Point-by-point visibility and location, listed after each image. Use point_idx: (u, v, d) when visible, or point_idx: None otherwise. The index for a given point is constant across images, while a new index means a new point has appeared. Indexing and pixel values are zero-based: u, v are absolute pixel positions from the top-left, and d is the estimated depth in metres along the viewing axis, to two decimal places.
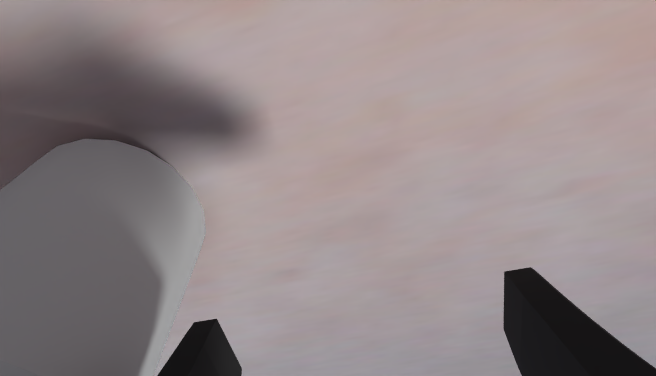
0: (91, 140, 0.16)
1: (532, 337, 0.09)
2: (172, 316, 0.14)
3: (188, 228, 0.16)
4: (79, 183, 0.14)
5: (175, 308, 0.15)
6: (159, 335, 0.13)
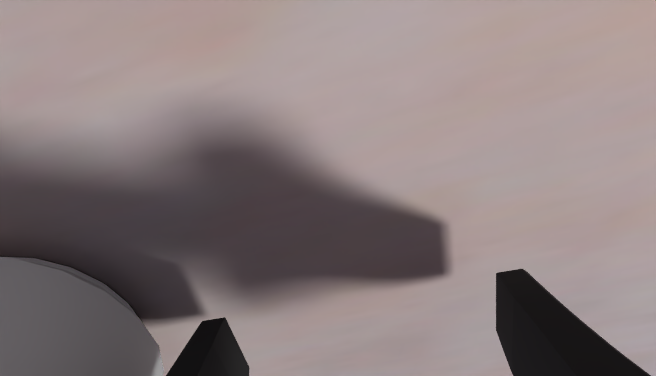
0: None
1: (523, 338, 0.09)
2: None
3: None
4: None
5: None
6: None
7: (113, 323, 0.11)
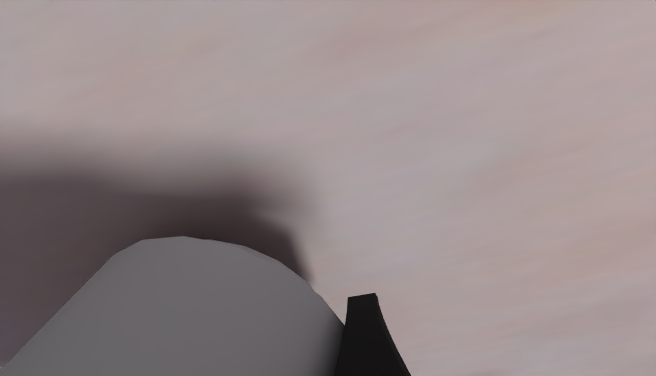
0: (193, 241, 0.09)
1: None
2: None
3: None
4: None
5: None
6: None
7: (329, 334, 0.09)
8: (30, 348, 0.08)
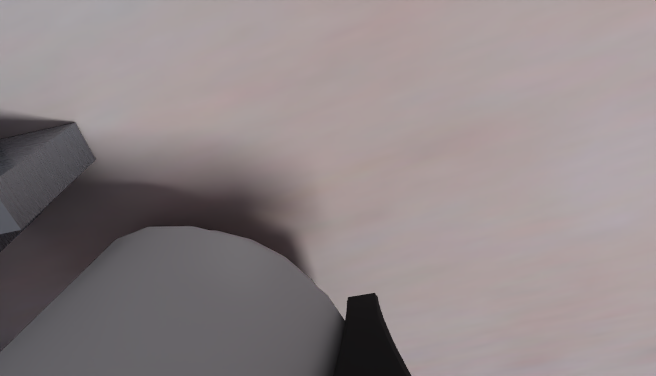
0: (202, 232, 0.09)
1: None
2: None
3: None
4: (168, 373, 0.07)
5: None
6: None
7: (334, 334, 0.09)
8: (31, 333, 0.07)
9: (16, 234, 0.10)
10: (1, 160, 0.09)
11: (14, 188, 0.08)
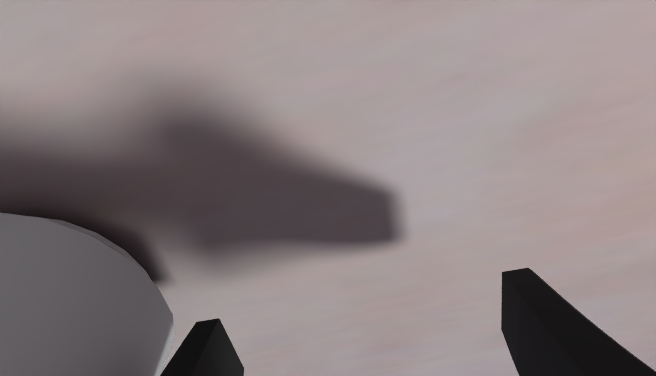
0: (4, 216, 0.11)
1: (529, 338, 0.09)
2: None
3: (141, 361, 0.11)
4: None
5: None
6: None
7: (134, 290, 0.11)
8: None
9: None
10: None
11: None
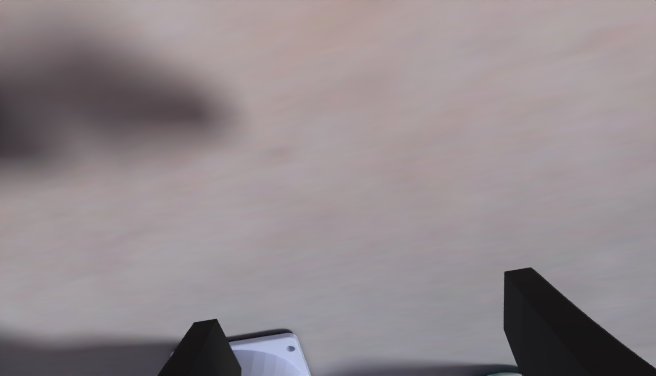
0: None
1: (532, 337, 0.09)
2: None
3: None
4: None
5: None
6: None
7: None
8: None
9: None
10: None
11: None
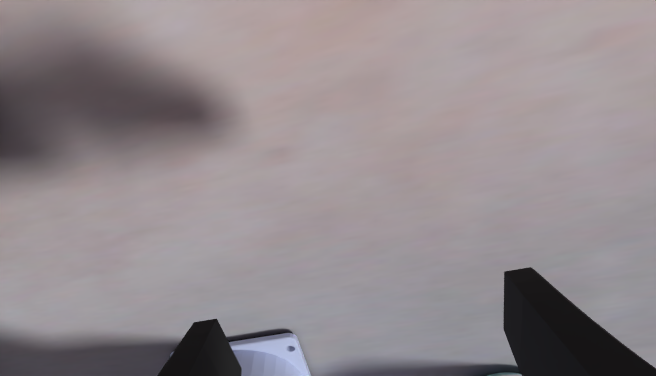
0: None
1: (532, 337, 0.09)
2: None
3: None
4: None
5: None
6: None
7: None
8: None
9: None
10: None
11: None
